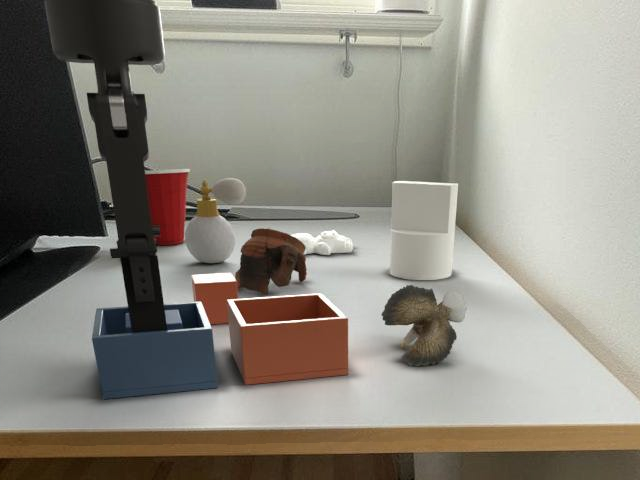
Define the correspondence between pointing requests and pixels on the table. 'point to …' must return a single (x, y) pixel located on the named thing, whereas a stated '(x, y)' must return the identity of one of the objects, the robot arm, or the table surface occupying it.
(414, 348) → the eagle figurine
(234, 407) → the table surface
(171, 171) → the plastic cup
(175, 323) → the slate block
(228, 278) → the terracotta block
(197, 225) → the perfume bottle
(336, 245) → the astronaut figurine
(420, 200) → the cylinder with rectangular tab
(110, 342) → the slate bin
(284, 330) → the terracotta bin
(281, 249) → the brown wooden carving
